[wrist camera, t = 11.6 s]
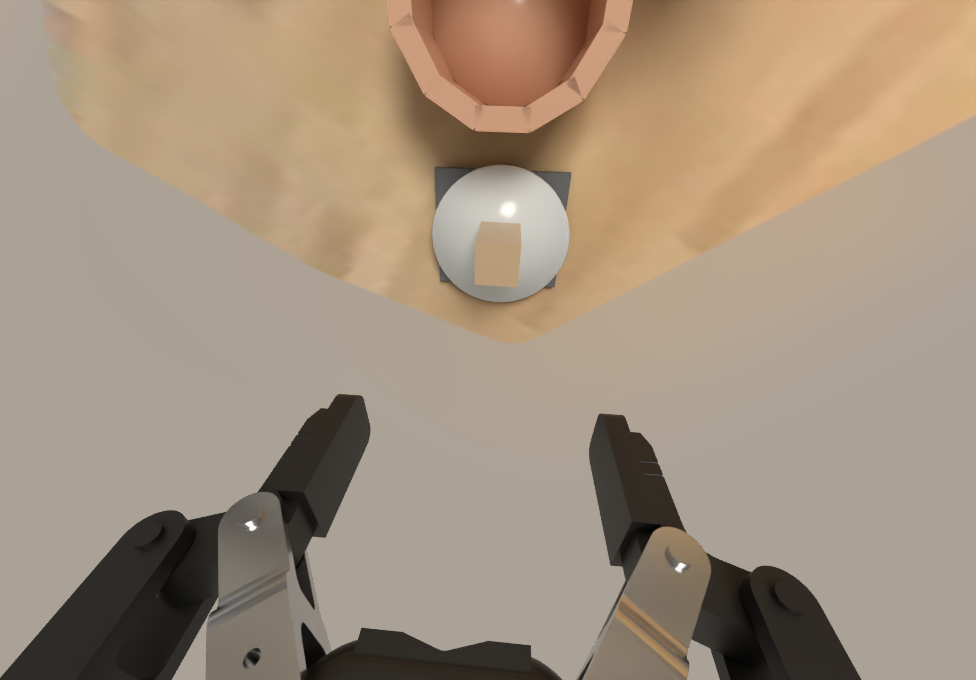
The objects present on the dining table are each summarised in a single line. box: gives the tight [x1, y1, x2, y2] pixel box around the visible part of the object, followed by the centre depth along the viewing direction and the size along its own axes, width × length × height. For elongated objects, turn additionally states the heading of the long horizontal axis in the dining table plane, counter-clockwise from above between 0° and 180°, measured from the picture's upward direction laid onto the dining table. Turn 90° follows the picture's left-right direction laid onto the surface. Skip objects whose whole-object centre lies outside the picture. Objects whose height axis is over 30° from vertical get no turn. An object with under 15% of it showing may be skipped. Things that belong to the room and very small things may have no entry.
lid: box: [432, 164, 569, 302], centre depth 26 cm, size 11×11×6 cm
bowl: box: [386, 0, 633, 133], centre depth 18 cm, size 12×12×6 cm
